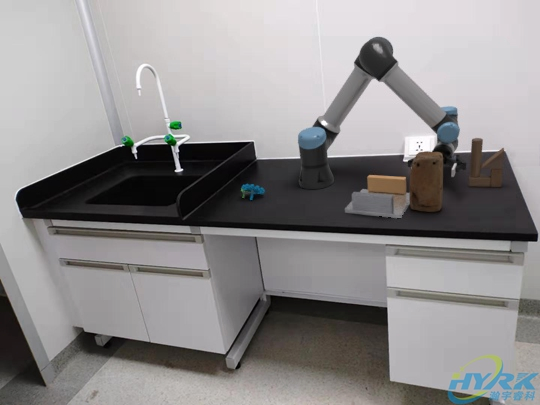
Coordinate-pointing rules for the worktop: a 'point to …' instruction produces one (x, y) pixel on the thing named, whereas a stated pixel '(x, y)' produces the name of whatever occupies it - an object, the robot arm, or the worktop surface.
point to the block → (426, 182)
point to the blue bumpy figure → (251, 190)
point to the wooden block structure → (485, 166)
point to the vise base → (397, 205)
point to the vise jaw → (387, 184)
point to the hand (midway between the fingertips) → (431, 172)
